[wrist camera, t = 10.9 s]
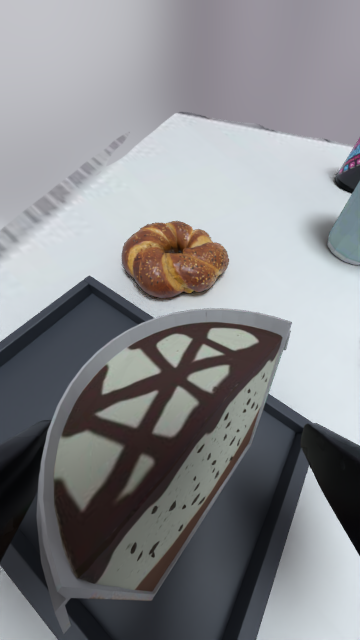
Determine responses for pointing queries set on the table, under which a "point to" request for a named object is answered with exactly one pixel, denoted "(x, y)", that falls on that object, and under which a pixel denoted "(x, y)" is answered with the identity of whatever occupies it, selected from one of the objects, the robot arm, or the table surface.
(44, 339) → the tray
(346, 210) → the disposable coffee cup
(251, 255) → the table surface
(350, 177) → the supplement container
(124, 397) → the food container
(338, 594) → the table surface
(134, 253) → the pretzel
